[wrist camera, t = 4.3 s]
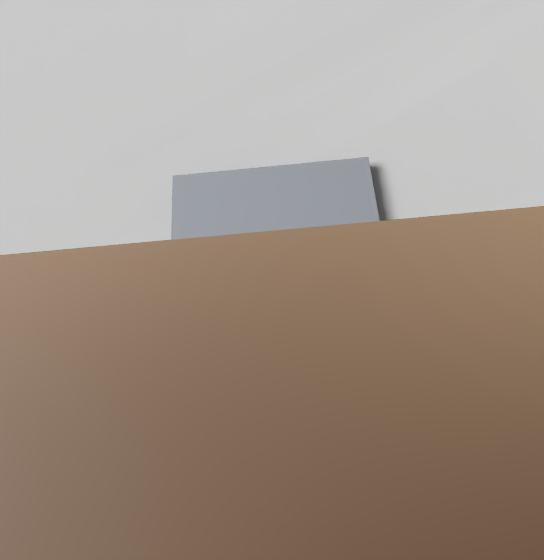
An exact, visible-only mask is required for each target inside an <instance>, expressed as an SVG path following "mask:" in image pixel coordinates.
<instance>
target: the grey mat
mask: <svg viewBox="0 0 544 560" xmlns="http://www.w3.org/2000/svg"><path fill="white" fill-rule="evenodd" d="M374 221H380V220H379V214H378V209H377V203H376V197H375V192H374V186H373V181H372V175H371V170H370V164H369V158H368V157H364V158H354V159H343V160H333V161H323V162H312V163H302V164H291V165H281V166H270V167H260V168H249V169H239V170H229V171H218V172H208V173H197V174H187V175H176V176H173V189H172V235H171V240H175V239H186V238H197V237H208V236H219V235H230V234H241V233H252V232H263V231H274V230H285V229H297V228H308V227H319V226H330V225H341V224H352V223H363V222H374Z"/></svg>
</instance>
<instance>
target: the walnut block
mask: <svg viewBox="0 0 544 560" xmlns="http://www.w3.org/2000/svg"><path fill="white" fill-rule="evenodd" d="M0 560H544V206H540V207H529V208H518V209H507V210H496V211H485V212H474V213H463V214H452V215H440V216H429V217H418V218H407V219H396V220H385V221H374V222H363V223H352V224H341V225H330V226H319V227H308V228H297V229H285V230H274V231H263V232H252V233H241V234H230V235H219V236H208V237H197V238H186V239H175V240H164V241H153V242H142V243H130V244H119V245H108V246H97V247H86V248H75V249H64V250H53V251H42V252H31V253H20V254H9V255H0Z"/></svg>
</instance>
